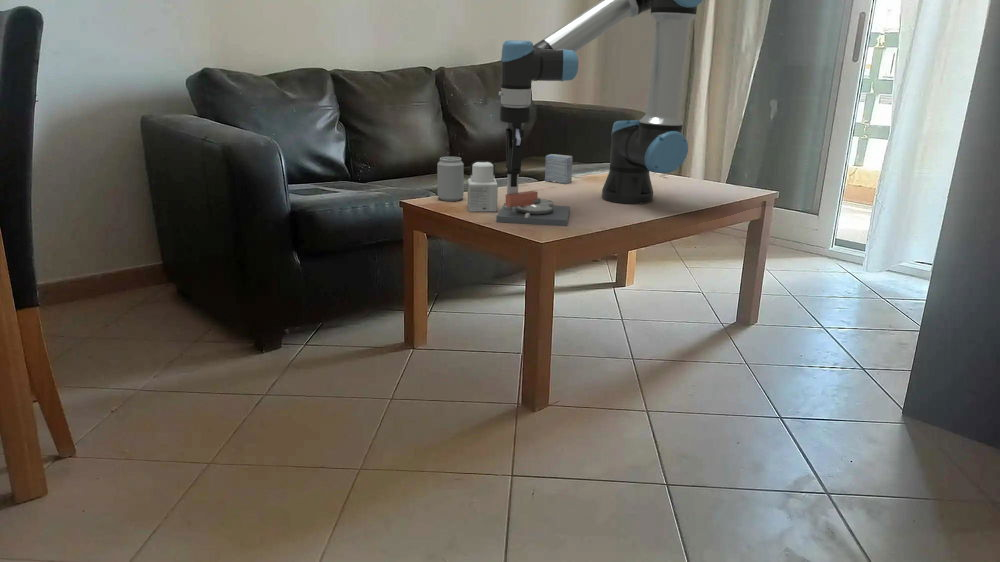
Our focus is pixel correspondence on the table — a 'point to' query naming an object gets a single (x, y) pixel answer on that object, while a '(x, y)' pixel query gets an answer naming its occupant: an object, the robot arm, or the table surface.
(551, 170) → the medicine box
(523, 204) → the dial
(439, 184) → the can
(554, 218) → the plate
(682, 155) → the robot arm
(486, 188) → the container
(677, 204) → the table surface
